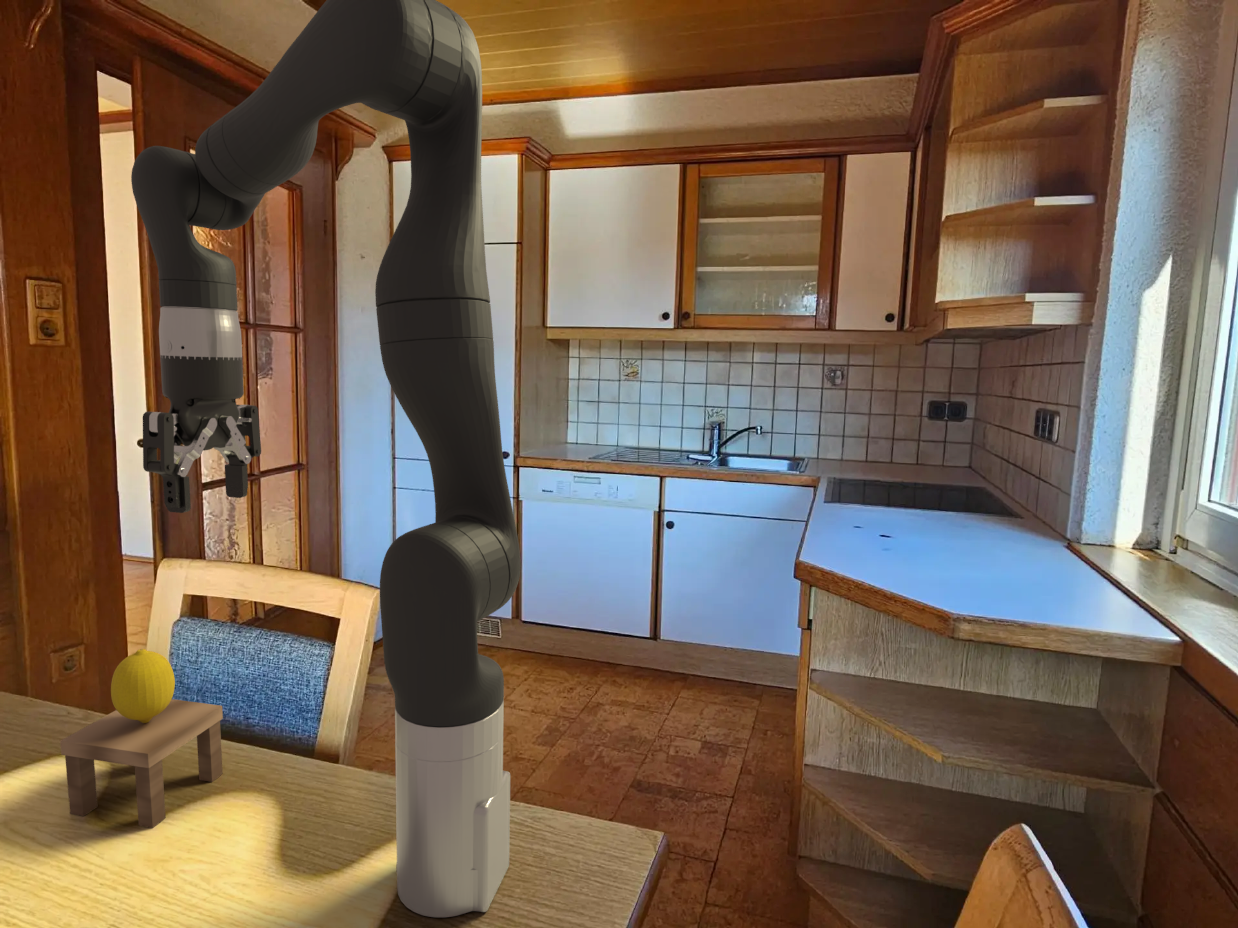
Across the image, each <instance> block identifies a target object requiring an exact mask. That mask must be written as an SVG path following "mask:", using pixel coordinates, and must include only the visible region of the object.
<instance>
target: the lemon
mask: <svg viewBox="0 0 1238 928" xmlns="http://www.w3.org/2000/svg"><path fill="white" fill-rule="evenodd" d="M175 681H176V679H175V674H174V670H173V666H172V665H171V663H170V662H169V660H168V659H167V658H166V657H165V656H164V655H163V654H160V653H159V652H156V651H152V650H147V649H146V648H140V649H137V650H136V651H135V652H133V653H132V654H130V655H128V656H126V657H125V658H124V659H122V660H121V661H120V662H119V663H118V665H117V666H116V668H115V670H114V671H113V674H112V678H111V685H110V695H111V697H110V698H111V702H112V704H113V706H114V708H115V710H117V711H118V712H119V713H120V714H121V715H122V716H124V717H126V718H128V719H131V720H138V721H140V722H142V723H147V722H149V721H150V720H151V719H152V718H153V717H154V716H156V715H158V714H159V713H161V712H162V711H163V710H164V709H165V708H166V707H167V706H168V704H169V703H170V701H171V699H173V696H174V693H175V685H176V682H175Z"/></svg>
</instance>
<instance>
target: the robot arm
mask: <svg viewBox="0 0 1238 928" xmlns="http://www.w3.org/2000/svg"><path fill="white" fill-rule="evenodd" d="M480 55H481V54H480V50H479V45H478V42H477V40H476V36H475V34H474V32H473V30H472V29H471V27H470V25H469V24H468V23H467V21H466V19H464V18H463V17H462V16H461V15H460V14H458V13H457V11H455V10H453V9H451V8H450V7H448V6H447V5H446V4H443V3H442V2H440V1H437V0H325V1H324V3H323V4H322V5H321V7H320V8H319V9H318V10H317V12H316V13H315V14H314V16H312V18H311V19H310V21H308V23H307V24H306V26H305V27H304V28H303V30H301V32H300V33H299V35H298V36H297V37H296V38H295V40H294V41H293V42H292V43H291V44H290V46H289V47H288V48H287V50H286V51H285V52H284V54H283V55H282V57H281V58H280V60H279V61H278V62H277V63H276V65H274V67H273V68H272V69H271V71H270V72H269V74H268V75H267V76H266V77H265V79H264V80H263V81H262V83H261V84H259V86H258V87H257V88H256V89H255V90H254V91H253V92H252V93H251V94H250V95H249V96H248V97H247V98H245V99H244V100H243V101H242V102H241V103H239V104H237V105H236V106H235V107H234V108H233V109H231V110H230V111H228V112H227V113H225V114H224V115H222V116H221V117H220V118H219V119H218V120H216V121H215V122H214V123H212V124H211V125H209V126H208V127H207V128H206V129H205V130H204V131H203V132H202V133H201V134H200V136H199V138H198V139H197V141H196V143H195V149H194V153H192V152H188V151H185V150H180V149H176V148H172V147H167V146H161V145H152V146H149V147H146V148H145V149H143V150H142V151H141V152H140V153H139V154H138V155H137V157H136V158H135V160H134V162H133V166H132V169H131V174H130V175H131V176H130V177H131V180H130V181H131V189H132V190H131V191H132V194H133V198H134V200H135V203H136V207H137V211H138V212H139V214H140V216H141V220H142V222H143V224H144V225H143V226H144V227H145V230H146V233H147V236H148V240H149V243H150V246H151V249H152V252H153V255H154V258H155V261H156V266H157V271H158V288H159V289H158V290H159V292H158V293H159V306H160V308H159V311H160V314H159V323H158V324H159V325H158V338H159V339H158V340H159V358H160V359H159V360H160V373H161V374H160V375H161V376H160V378H161V391H162V395H163V397H165V398H166V399H168V400H169V401H170V406H169V407H170V408H169V411H168V412H163V411H162V412H161V411H159V412H158V411H145V412H143V414H142V467H143V470H144V472H147V473H149V472H150V473H155V474H158V475H160V476H161V477H162V478H161V479H162V482H163V483H162V484H163V487H162V488H163V499H164V500H163V501H164V505H165V508H166V509H167V511H168V512H169V513H179V514H184V513H187V512H190V511H191V509H192V507H191V492H190V491H191V488H190V476H189V475H188V474H189V471H190V470H191V468H192V466H193V463H194V461H195V460H197V459H199V458H200V457H201V455H202V453H203V451H210V450H212V449H213V450H216V451H218V452H219V453H220V455H221V456H222V458H223V459H224V461H225V462H226V463H227V464H224V475H225V476H224V480H225V495H226V496H227V497H228V498H236V499H241V498H245V497H247V496H248V489H249V483H248V481H249V478H248V477H249V476H248V464H250V463H251V461H252V459H253V458H254V457H260V455H261V454H262V445H261V444H262V443H261V430H260V418H259V417H260V416H259V409H258V406H256V405H253V404H252V405H250V404H237V402H236V401H237V399H240V398H242V397H243V396H244V393H245V391H244V390H245V389H244V371H243V369H244V367H243V363H244V362H243V347H242V346H243V344H242V343H243V342H242V330H241V326H240V320H239V312H238V290H237V289H238V288H237V287H238V285H237V272H236V271H237V270H236V266H235V263H234V261H233V260H232V259H231V258H230V257H229V256H227V255H225V254H224V253H220V252H218V251H215V250H212V249H210V248H208V247H205V245H202V244H201V243H200V242H199V240H197V239H196V236H195V235H194V233H193V231H192V230H191V227H198V228H204V229H210V230H216V231H229V230H235V229H237V228H240V227H243V226H244V225H245V224H247V222H248V221H249V220H250V218H251V217H252V215H253V214H254V212H255V210H256V208H257V207H258V206H259V205H260V203H261V201H262V200H263V198H264V197H265V195H266V194H267V193H268V192H271V191H272V190H274V189H275V188H277V187H278V186H280V185H282V184H283V183H286V182H287V181H289V180H290V179H292V178H293V177H294V176H297V174H298V173H300V172H301V171H302V170H303V169H304V168H305V167H306V166H307V164H308V163H309V162H310V160H311V158H312V157H313V154H314V152H315V148H316V144H317V137H318V128H319V122H320V120H321V119H322V118H323V117H325V116H326V115H328V114H329V113H333V112H334V111H337V110H338V109H342V108H344V107H347V106H351V105H354V104H362V105H364V106H366V107H368V108H370V109H373V110H375V111H378V112H381V113H384V114H386V115H388V116H389V115H390V116H392V117H394V118H397V119H400V120H402V121H404V122H405V125H406V129H407V136H408V143H409V154H410V190H409V195H408V199H407V203H406V206H405V209H403V210H404V211H403V213H402V216H401V218H400V220H399V223H398V225H397V226H396V228H395V230H394V233H393V235H392V236H391V239H390V241H389V243H388V245H387V247H386V250H385V252H384V254H383V257H382V259H381V262H380V265H379V268H378V272H377V276H376V280H375V281H376V282H375V288H374V289H375V291H374V292H375V307H376V310H375V311H376V319H377V329H378V331H377V332H378V341H379V349H380V354H381V361H382V366H383V369H384V373H385V375H386V378H387V380H388V382H389V384H390V387H391V390H392V392H393V393H394V395H395V397H396V400H397V401H398V403H399V405H400V407H402V410H403V412H404V413H405V415H406V416H407V418H408V420H409V421H410V423H411V425H412V427H413V428H414V430H415V432H416V433H417V436H418V437H419V439H420V441H421V443H422V445H423V448H424V450H425V452H426V456H427V459H428V461H429V462H428V463H429V466H430V472H431V476H432V477H431V478H432V484H433V493H434V502H435V503H434V509H435V517H434V518H435V520H434V521H435V522H433V523H430V524H427V525H423V526H420V527H418V528H414V529H412V530H410V531H407V532H405V533H403V534H401V535H399V536H397V538H395V540H393V542H392V543H390V545H389V547H388V549H387V551H386V552H385V555H384V557H383V561H382V564H381V568H380V570H381V571H380V577H379V607H380V620H381V632H382V633H381V634H382V648H383V661H384V668H385V672H386V676H387V679H388V681H389V683H390V685H391V688H392V690H393V694H394V729H395V730H394V732H395V733H394V735H395V736H394V740H395V741H394V742H395V743H394V747H395V748H394V749H395V751H394V752H395V758H394V759H395V810H396V811H395V817H396V818H395V819H396V820H395V822H396V823H395V825H396V827H395V828H396V829H395V830H396V831H395V834H396V838H395V839H396V865H395V867H396V868H395V869H396V882H397V883H396V887H397V895H398V898H399V899H400V901H401V903H402V904H404V906H405V907H406V908H407V909H408V910H411V911H412V912H414V913H415V914H418V915H421V916H425V917H431V918H450V917H457V916H460V915H463V914H466V913H470V912H481V913H485V912H488V910H489V908H490V905H491V904H492V901H493V900H494V898H495V896H496V894H497V892H498V890H499V888H500V885H501V883H502V882H503V879H504V877H505V875H506V873H507V871H508V870H509V867H510V841H511V840H510V837H511V836H510V831H511V830H510V827H511V826H510V825H511V773H510V772H509V771H506V770H503V769H504V703H505V701H504V697H505V695H504V694H505V686H504V685H505V683H504V682H505V680H504V679H505V677H504V672H503V670H502V668H501V666H500V664H499V663H498V662H496V661H495V660H494V659H493V658H491V657H489V656H486V655H484V654H481V653H479V647H478V645H479V643H478V622H480V621H482V620H483V619H485V618H487V617H488V616H491V615H492V614H494V613H495V612H497V611H498V610H499V609H501V608H502V607H504V606H505V605H506V604H507V603H508V602H509V601H510V600H511V598H512V597H513V595H514V594H515V593H516V590H517V587H518V584H519V580H520V577H521V568H522V567H521V563H522V562H521V561H522V560H521V552H520V551H521V550H520V544H519V537H518V532H517V526H516V522H515V516H514V510H513V506H512V500H511V496H510V490H509V485H508V478H507V474H506V468H505V467H506V466H505V462H504V454H503V453H504V452H503V446H502V443H503V442H502V434H501V421H500V411H499V400H498V391H497V382H496V381H497V380H496V369H495V347H494V346H495V345H494V343H495V342H494V332H493V320H492V319H493V318H492V307H491V306H492V305H491V297H490V289H489V283H488V273H487V262H486V250H485V248H486V247H485V246H486V245H485V231H484V230H485V228H484V212H483V211H484V210H483V209H484V208H483V199H482V198H483V197H482V196H483V195H482V194H483V193H482V143H483V142H482V137H483V136H482V133H483V131H482V130H483V74H482V73H483V72H482V70H483V69H482V61H481V56H480ZM246 436H247V437H249V444H250V445H247V442H246ZM158 449H159V451H160V452H159V453H160V454H159V456H160V458H159V460H158ZM178 459H179V461H178V463H177V460H178ZM187 475H188V476H187Z"/></svg>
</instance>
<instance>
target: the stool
mask: <svg viewBox="0 0 1238 928" xmlns="http://www.w3.org/2000/svg"><path fill="white" fill-rule="evenodd" d="M223 715H224V713H223V705H218V704H211V703H205V702H196V701H190V700H189V701H188V700H181V699H176V698H175V699H174V698H172V699H171V701H170V703H169V704H168V706H167V707H166V708H165V709H164V710H163V711H162V712H161V713H159V714H158V715H156V716H154V717H153V718H152V719H151V720H150V721H149V722H147V723H142V722H140V721H138V720H131V719H128V718H126V717H124V716H122V715H121V714H120V713H119V712H118V711H117V710H116V709H115V710H114V711H112V712H110V713H108V714H107V715H105V716H103V717H101V718H99V719H97V720H96V721H93V722H92V723H90V724H88V725H86V726H84V727H83V728H81V729H79V730H77V731H75V732H73V733H71V734H70V735H68V736H66V737H64V738H62V739H61V740H59V742H60V743H59V744H60V752H61V753H60V754H61V756H65V757H64V758H65V768H66V772H65V773H66V779H67V780H66V782H67V784H66V785H67V791H68V792H67V793H68V806H69V814H70V815H73V816H74V815H75V816H81V817H84V816H86V815H88V814H89V813H90V812H92V811H93V810H95V809H96V808H98V807H99V806H98V805H99V804H98V794H97V793H98V791H97V781H96V769H95V767H96V766H95V761H101V762H105V763H106V762H107V763H112V764H113V763H114V764H118V765H119V764H120V765H126V766H132V767H134V776H135V789H136V791H135V793H136V803H137V805H136V806H137V819H138V826H139V827H145V828H150V829H153V828H155V827H157V826H158V825H159V824H160V823H161V822H163V821H164V820H165V819H166V802H165V788H164V787H165V785H164V772H163V771H164V770H163V759H165V758H166V757H168V756H170V755H171V754H172V753H174V752H175V751H177V750H178V749H179V748H181V747H183V746H184V745H186V744H187V743H189V742H190V741H192V740H193V739H195V738H196V744H197V746H196V747H197V760H198V761H197V762H198V766H197V767H198V779H199V781H202V782H203V781H204V782H210V783H213V782H214V781H216V780H217V779H218V778H219V777H220V776H222V775H223V774H224V772H223V756H222V735H221V734H222V733H221V721H222V720H223V719H224V718H223V717H224V716H223Z"/></svg>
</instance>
